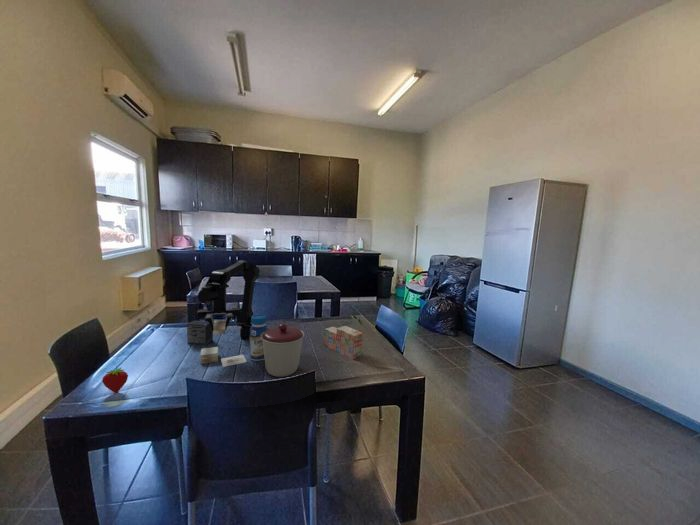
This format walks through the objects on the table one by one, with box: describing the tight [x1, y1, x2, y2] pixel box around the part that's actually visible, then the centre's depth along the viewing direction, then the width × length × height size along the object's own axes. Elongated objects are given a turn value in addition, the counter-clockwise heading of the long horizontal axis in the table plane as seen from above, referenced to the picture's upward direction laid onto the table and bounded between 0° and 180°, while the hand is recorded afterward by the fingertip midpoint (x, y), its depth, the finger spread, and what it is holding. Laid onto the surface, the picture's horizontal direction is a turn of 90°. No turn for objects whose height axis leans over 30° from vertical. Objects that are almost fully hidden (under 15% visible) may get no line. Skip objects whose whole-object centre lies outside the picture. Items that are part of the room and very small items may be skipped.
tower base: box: [200, 346, 219, 365], centre depth 132 cm, size 7×7×4 cm
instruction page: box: [220, 354, 248, 368], centre depth 132 cm, size 10×8×1 cm
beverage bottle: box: [248, 313, 269, 362], centre depth 135 cm, size 8×8×20 cm
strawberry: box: [101, 364, 129, 394], centre depth 104 cm, size 6×8×10 cm
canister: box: [261, 323, 305, 378], centre depth 124 cm, size 18×18×21 cm
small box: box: [186, 320, 214, 346], centre depth 149 cm, size 11×6×10 cm, turn 84°
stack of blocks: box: [323, 325, 364, 360], centre depth 147 cm, size 21×6×12 cm, turn 46°
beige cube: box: [213, 319, 226, 336], centre depth 137 cm, size 5×5×5 cm
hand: (219, 330), depth 137 cm, fingers closed on beige cube, 5 cm apart
